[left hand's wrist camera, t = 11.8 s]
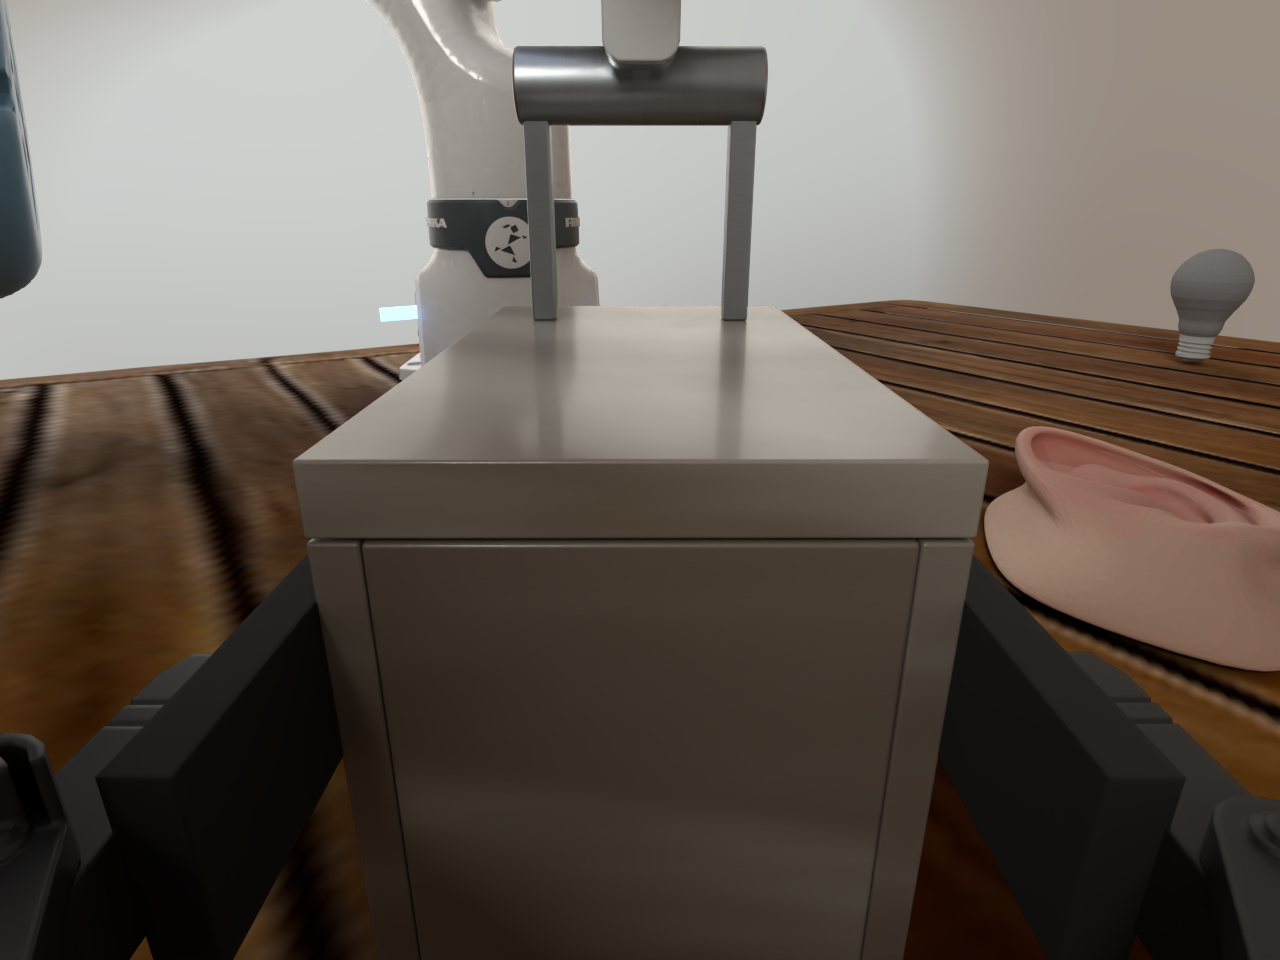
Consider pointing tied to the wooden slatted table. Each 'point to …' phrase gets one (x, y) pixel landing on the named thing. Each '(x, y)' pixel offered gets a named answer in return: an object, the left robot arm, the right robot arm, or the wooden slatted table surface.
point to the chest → (640, 740)
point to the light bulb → (1208, 298)
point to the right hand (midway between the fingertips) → (640, 81)
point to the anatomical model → (1141, 549)
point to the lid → (640, 382)
